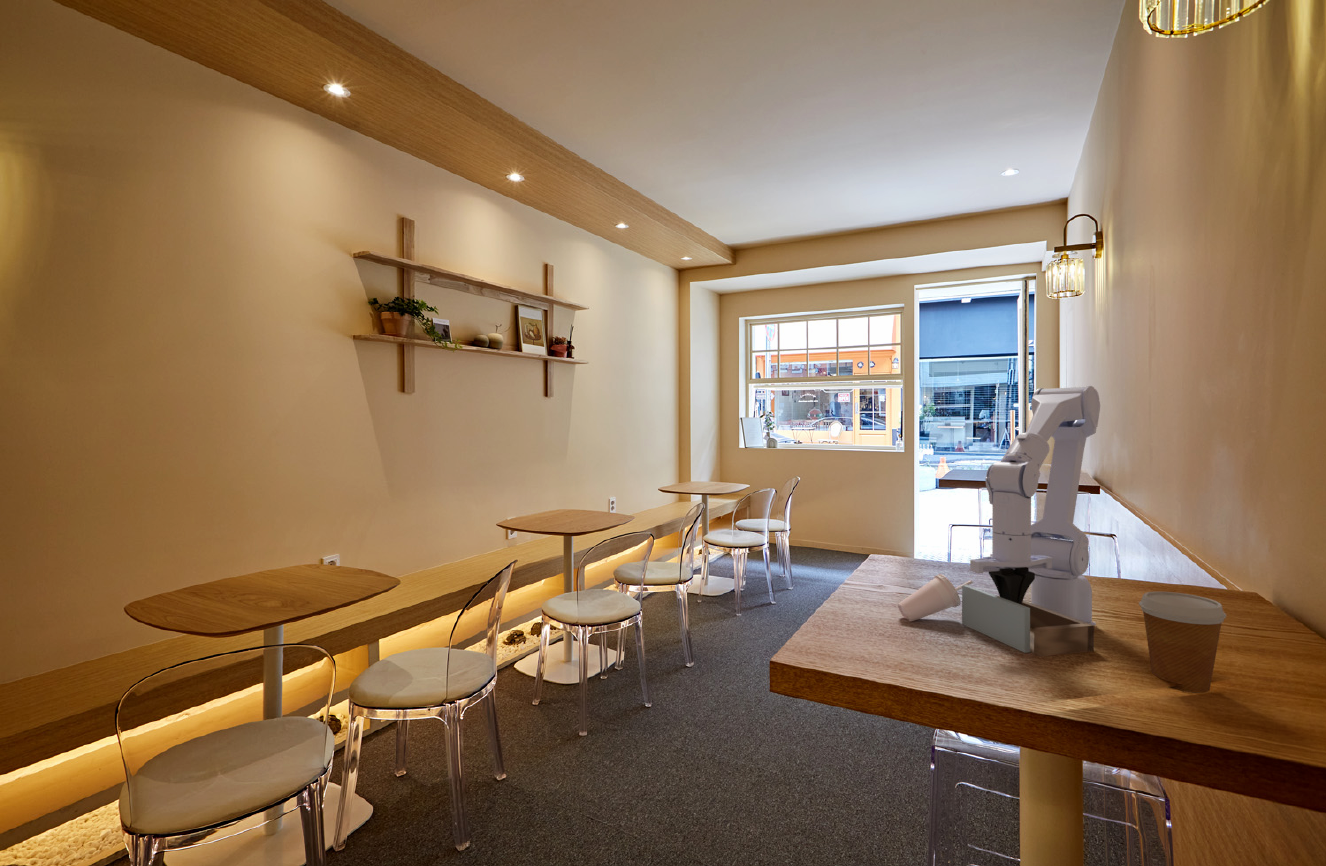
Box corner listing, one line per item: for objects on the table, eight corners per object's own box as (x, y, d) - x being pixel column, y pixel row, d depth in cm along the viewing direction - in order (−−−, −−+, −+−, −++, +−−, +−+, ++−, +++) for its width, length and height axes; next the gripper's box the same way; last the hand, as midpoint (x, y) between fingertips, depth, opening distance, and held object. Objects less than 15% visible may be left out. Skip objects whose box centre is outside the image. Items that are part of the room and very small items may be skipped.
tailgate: (966, 623, 112) (967, 584, 112) (1029, 652, 98) (1030, 608, 98) (962, 623, 112) (962, 585, 112) (1024, 652, 98) (1024, 608, 98)
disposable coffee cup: (1121, 671, 93) (1122, 591, 93) (1181, 669, 94) (1181, 589, 93) (1180, 700, 83) (1180, 610, 83) (1245, 696, 84) (1246, 608, 84)
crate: (1008, 621, 116) (1009, 595, 116) (1093, 656, 99) (1093, 625, 99) (962, 625, 114) (962, 598, 114) (1040, 662, 97) (1040, 630, 97)
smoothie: (918, 631, 111) (987, 595, 112) (899, 597, 112) (967, 562, 113) (906, 627, 117) (972, 593, 118) (889, 595, 119) (953, 562, 119)
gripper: (1029, 527, 111) (1029, 602, 111) (958, 530, 108) (957, 608, 108) (1062, 533, 104) (1062, 614, 104) (987, 537, 101) (987, 621, 101)
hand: (1011, 612), depth 106 cm, fingers closed
